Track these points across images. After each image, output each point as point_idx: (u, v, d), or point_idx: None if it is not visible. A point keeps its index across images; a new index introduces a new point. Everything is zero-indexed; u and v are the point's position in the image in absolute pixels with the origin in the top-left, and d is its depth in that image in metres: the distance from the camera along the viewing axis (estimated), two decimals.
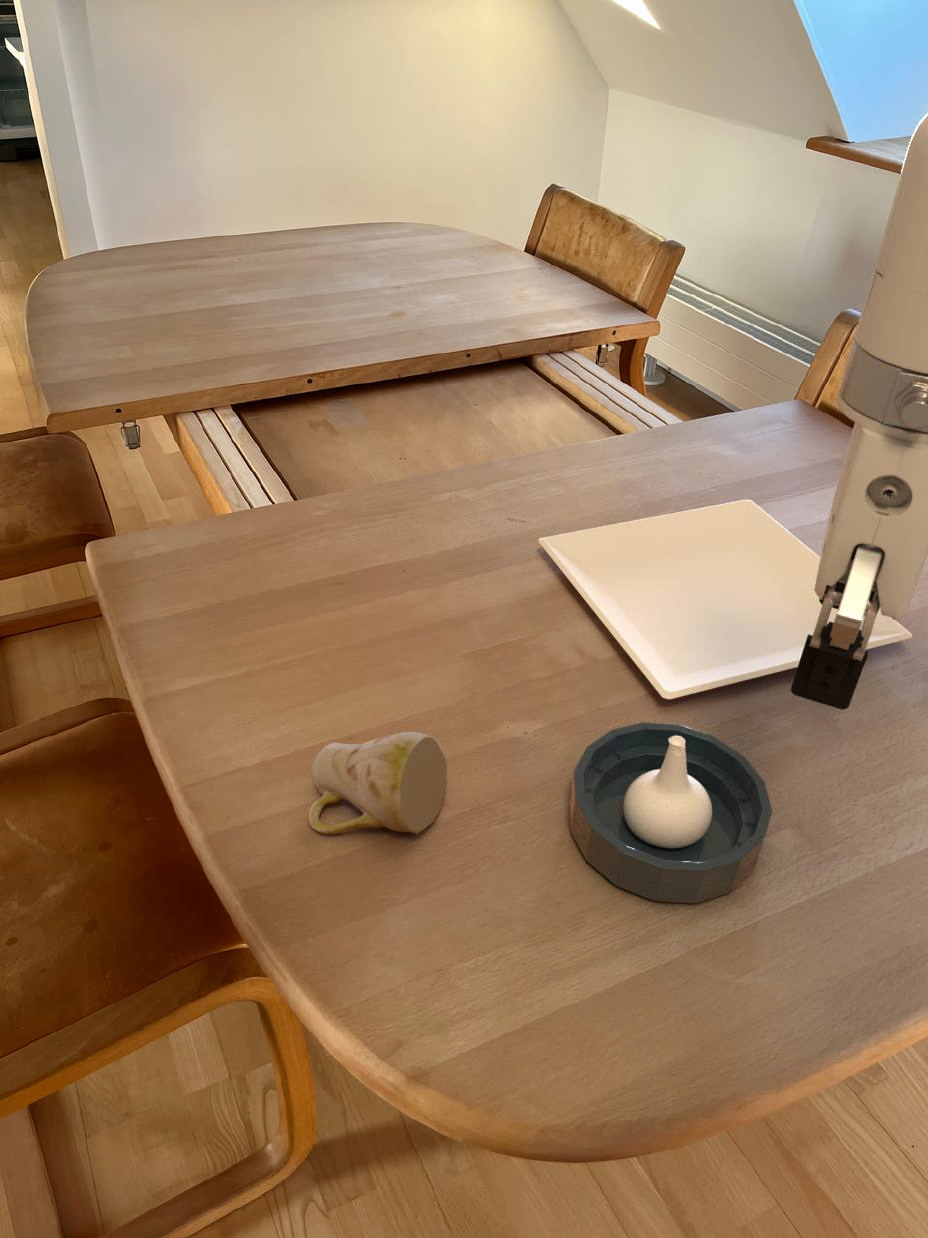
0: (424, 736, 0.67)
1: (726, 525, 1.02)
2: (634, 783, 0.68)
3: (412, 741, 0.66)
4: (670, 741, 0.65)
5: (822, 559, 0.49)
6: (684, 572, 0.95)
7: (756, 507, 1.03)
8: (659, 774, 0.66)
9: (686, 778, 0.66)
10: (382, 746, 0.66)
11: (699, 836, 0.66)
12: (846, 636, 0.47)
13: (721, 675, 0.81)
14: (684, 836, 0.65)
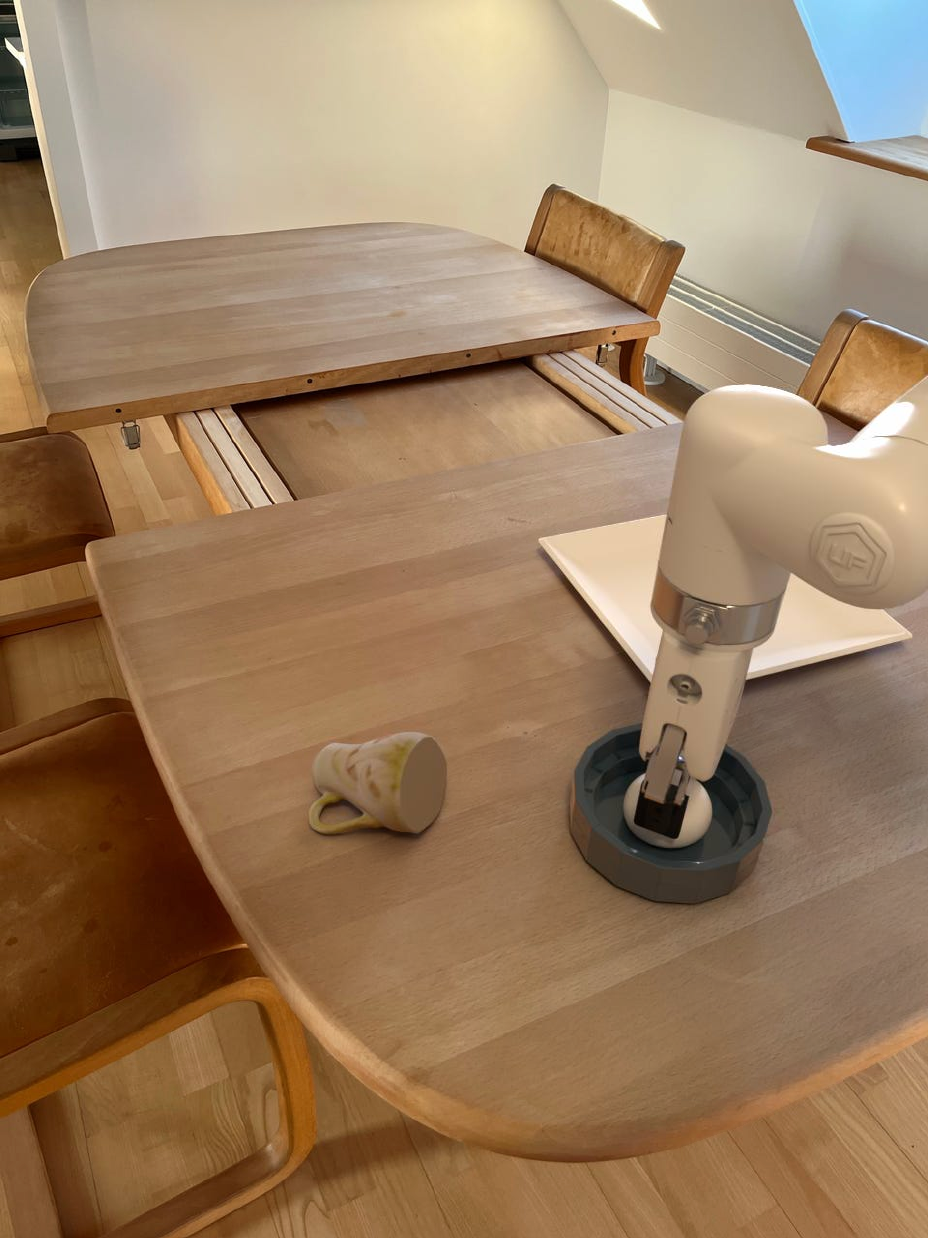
0: (424, 736, 0.67)
1: None
2: (634, 783, 0.68)
3: (412, 741, 0.66)
4: None
5: None
6: None
7: None
8: None
9: None
10: (382, 746, 0.66)
11: (699, 836, 0.66)
12: None
13: None
14: (684, 836, 0.65)
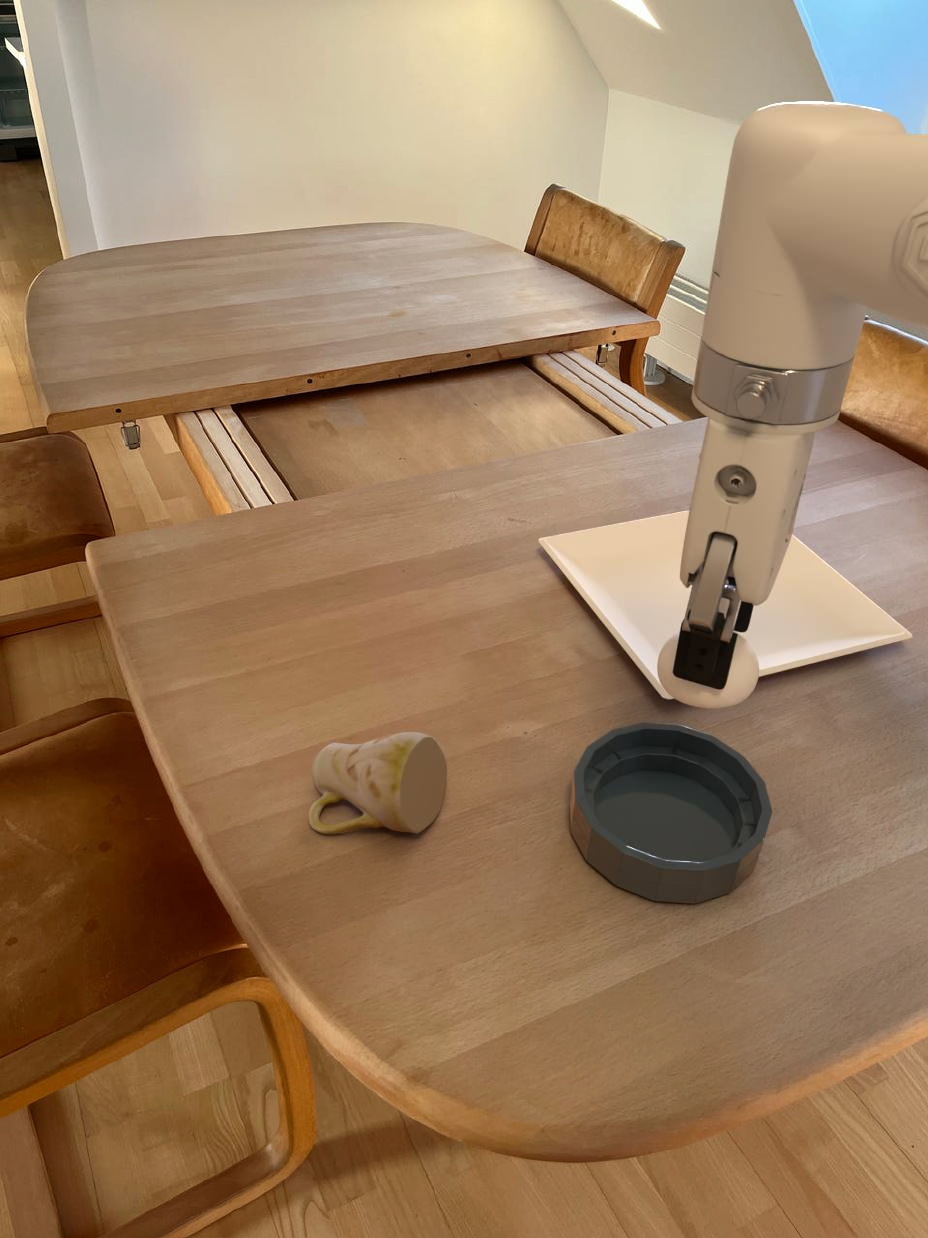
0: (424, 736, 0.67)
1: None
2: (669, 639, 0.60)
3: (412, 741, 0.66)
4: None
5: (683, 548, 0.51)
6: None
7: None
8: None
9: None
10: (382, 746, 0.66)
11: (745, 693, 0.58)
12: (704, 628, 0.50)
13: None
14: (728, 692, 0.57)
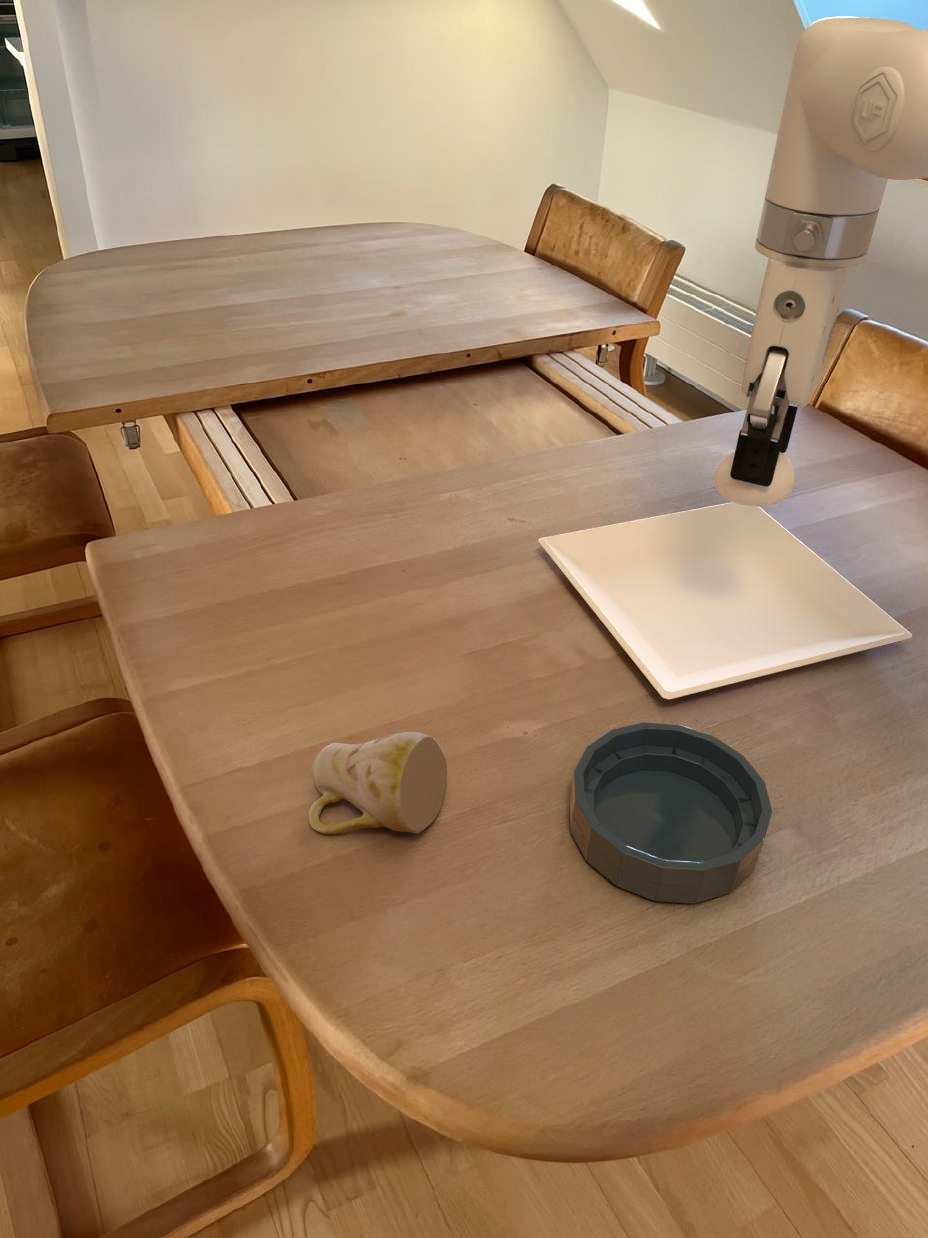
0: (424, 736, 0.67)
1: (726, 525, 1.02)
2: (725, 456, 0.77)
3: (412, 741, 0.66)
4: None
5: (746, 363, 0.67)
6: (684, 572, 0.95)
7: (756, 507, 1.03)
8: None
9: None
10: (382, 746, 0.66)
11: (785, 494, 0.74)
12: (760, 422, 0.67)
13: (721, 675, 0.81)
14: (772, 491, 0.74)
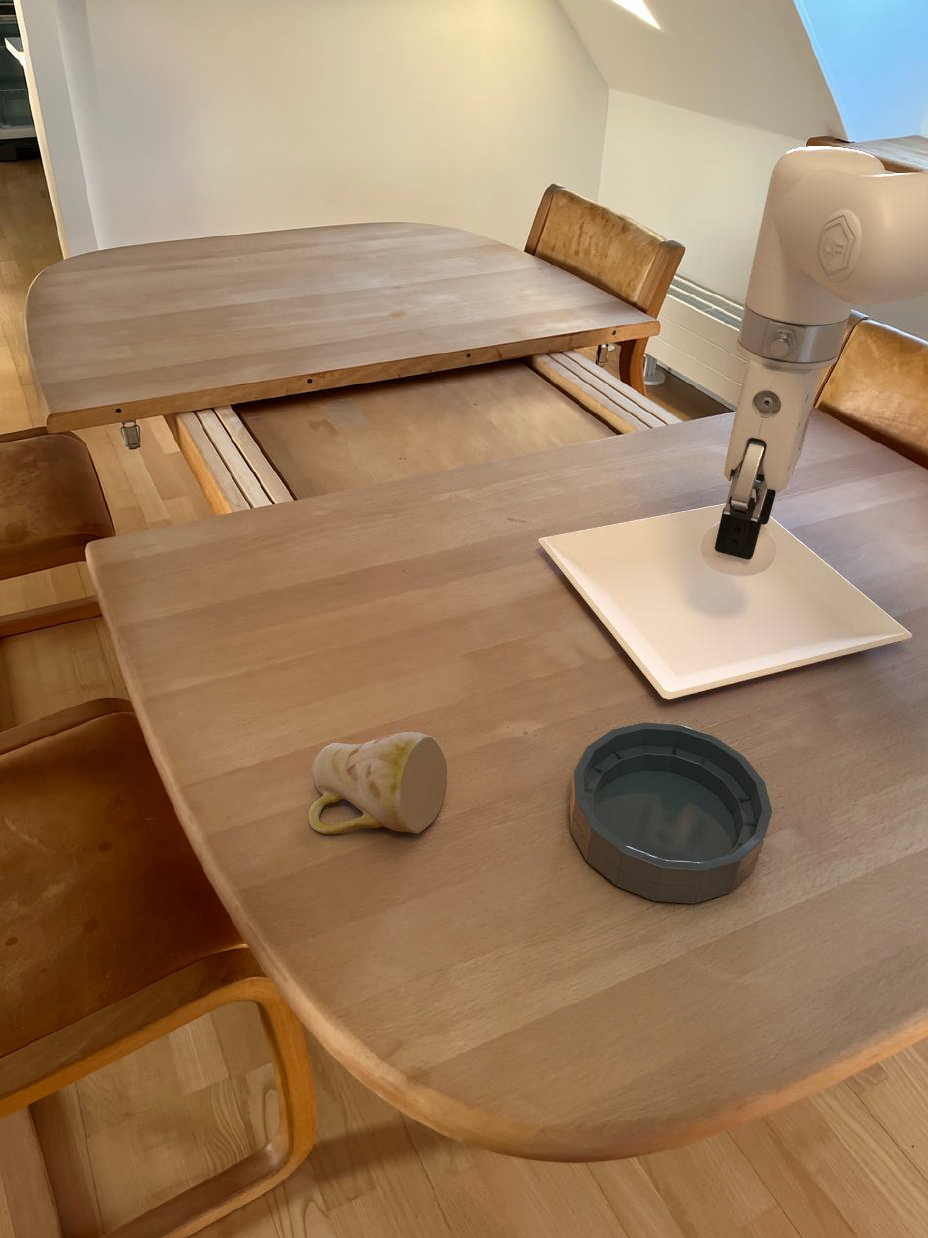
0: (424, 736, 0.67)
1: None
2: (710, 527, 0.82)
3: (412, 741, 0.66)
4: None
5: None
6: (684, 572, 0.95)
7: None
8: None
9: None
10: (382, 746, 0.66)
11: (766, 565, 0.80)
12: (741, 506, 0.72)
13: (721, 675, 0.81)
14: (754, 562, 0.79)
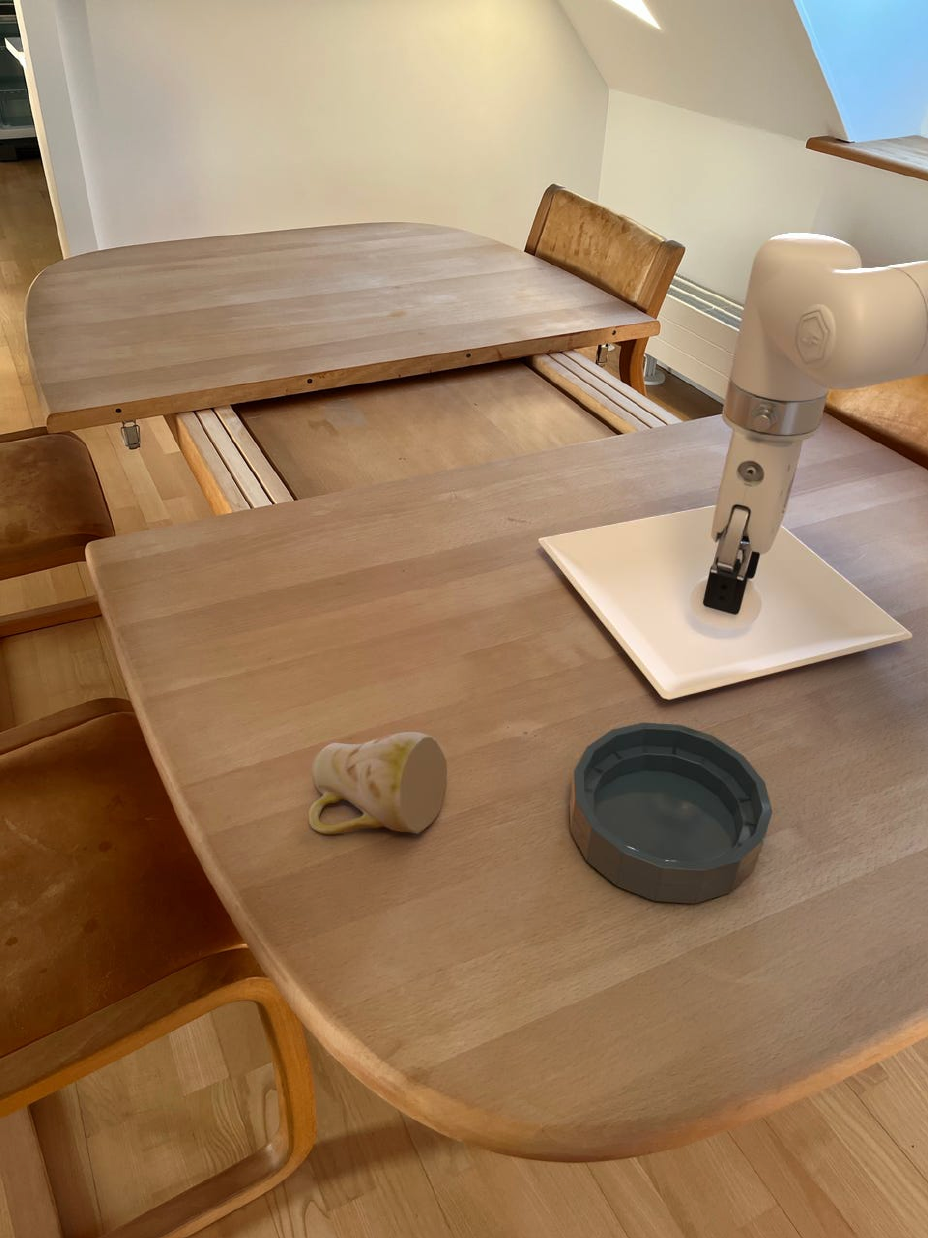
0: (424, 736, 0.67)
1: None
2: (699, 582, 0.86)
3: (412, 741, 0.66)
4: None
5: (714, 515, 0.76)
6: (684, 572, 0.95)
7: None
8: None
9: None
10: (382, 746, 0.66)
11: (752, 618, 0.84)
12: (727, 568, 0.76)
13: (720, 675, 0.81)
14: (740, 617, 0.83)
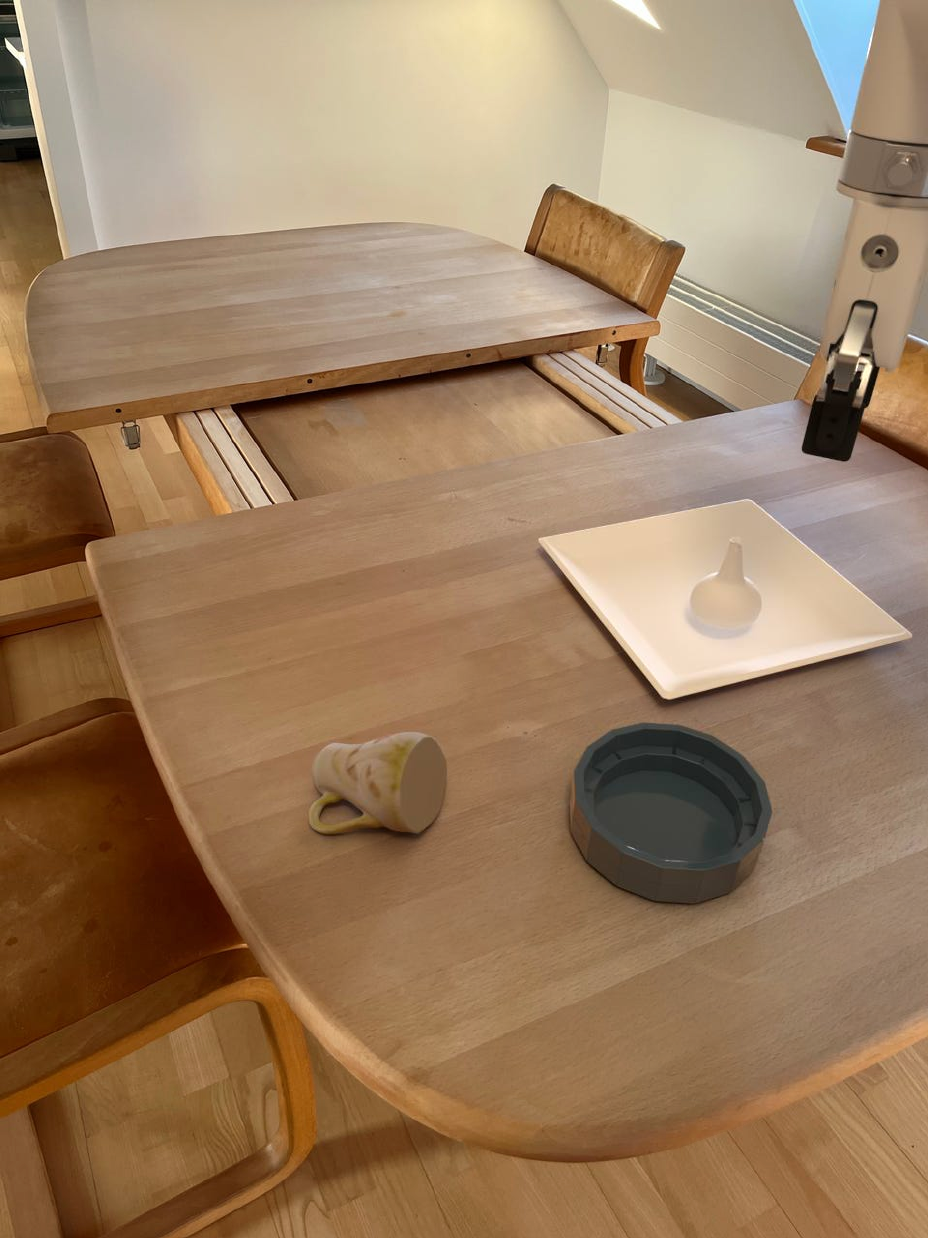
0: (424, 736, 0.67)
1: (726, 525, 1.02)
2: (699, 582, 0.86)
3: (412, 741, 0.66)
4: (730, 540, 0.82)
5: (826, 321, 0.59)
6: (684, 572, 0.95)
7: (756, 507, 1.03)
8: (720, 570, 0.84)
9: (742, 572, 0.83)
10: (382, 746, 0.66)
11: (752, 618, 0.84)
12: (846, 374, 0.57)
13: (720, 675, 0.81)
14: (740, 617, 0.83)
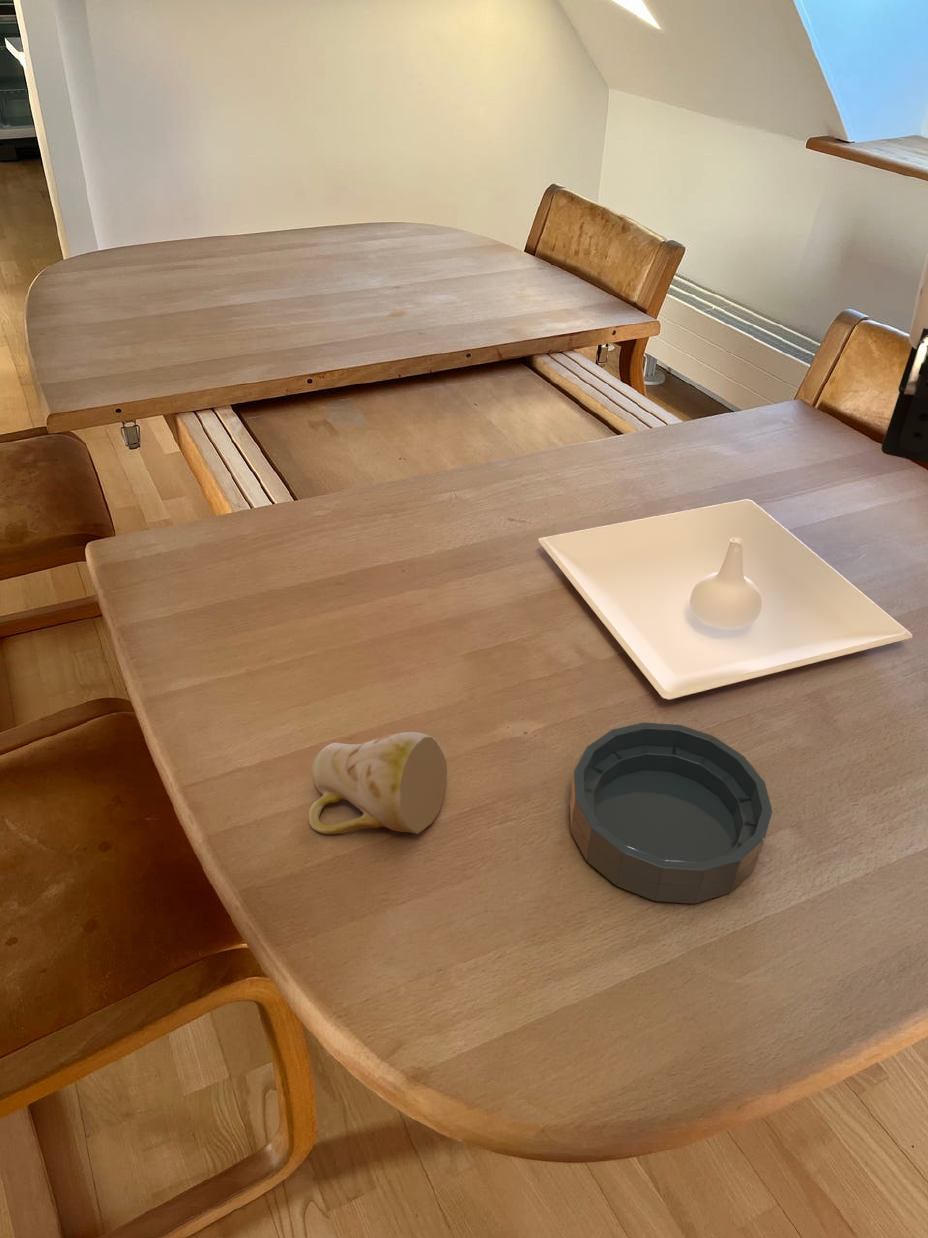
0: (424, 736, 0.67)
1: (726, 525, 1.02)
2: (699, 582, 0.86)
3: (412, 741, 0.66)
4: (730, 540, 0.82)
5: (919, 303, 0.51)
6: (684, 572, 0.95)
7: (756, 507, 1.03)
8: (720, 570, 0.84)
9: (742, 572, 0.83)
10: (382, 746, 0.66)
11: (752, 618, 0.84)
12: None
13: (720, 675, 0.81)
14: (740, 617, 0.83)
